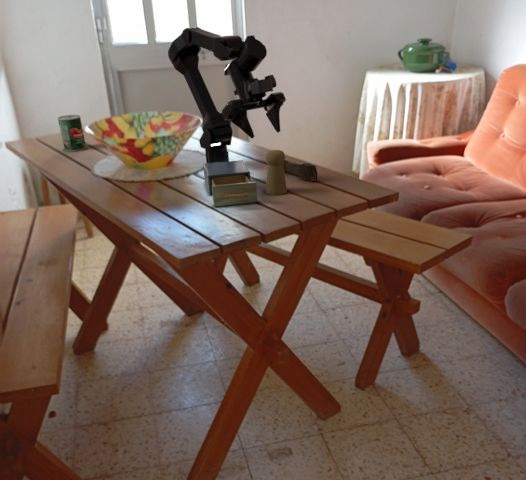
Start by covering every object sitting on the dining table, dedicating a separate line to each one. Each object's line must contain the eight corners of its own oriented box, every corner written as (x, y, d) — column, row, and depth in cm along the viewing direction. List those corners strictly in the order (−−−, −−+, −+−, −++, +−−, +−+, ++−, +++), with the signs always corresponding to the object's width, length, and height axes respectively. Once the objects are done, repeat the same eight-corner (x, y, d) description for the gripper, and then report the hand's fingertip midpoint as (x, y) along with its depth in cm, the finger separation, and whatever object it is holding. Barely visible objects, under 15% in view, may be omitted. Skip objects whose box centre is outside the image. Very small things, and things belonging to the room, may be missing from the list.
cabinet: (251, 191, 156) (250, 171, 153) (209, 195, 154) (207, 175, 151) (243, 179, 166) (242, 160, 163) (204, 182, 165) (203, 163, 162)
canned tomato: (83, 151, 203) (76, 118, 197) (61, 151, 203) (54, 119, 197) (89, 145, 210) (82, 114, 204) (68, 146, 210) (61, 115, 204)
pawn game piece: (280, 196, 152) (279, 154, 146) (261, 193, 155) (259, 152, 148) (291, 189, 156) (290, 149, 150) (272, 187, 159) (271, 147, 153)
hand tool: (269, 171, 172) (269, 155, 170) (280, 168, 174) (279, 153, 172) (309, 185, 159) (309, 168, 157) (320, 182, 161) (320, 165, 159)
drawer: (260, 206, 145) (259, 186, 142) (215, 210, 143) (213, 190, 140) (249, 187, 158) (248, 169, 155) (208, 191, 156) (206, 173, 154)
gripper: (228, 68, 142) (253, 125, 143) (284, 60, 151) (307, 114, 152) (211, 92, 152) (234, 146, 153) (264, 83, 161) (286, 134, 162)
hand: (266, 134), depth 155 cm, fingers open, 9 cm apart
